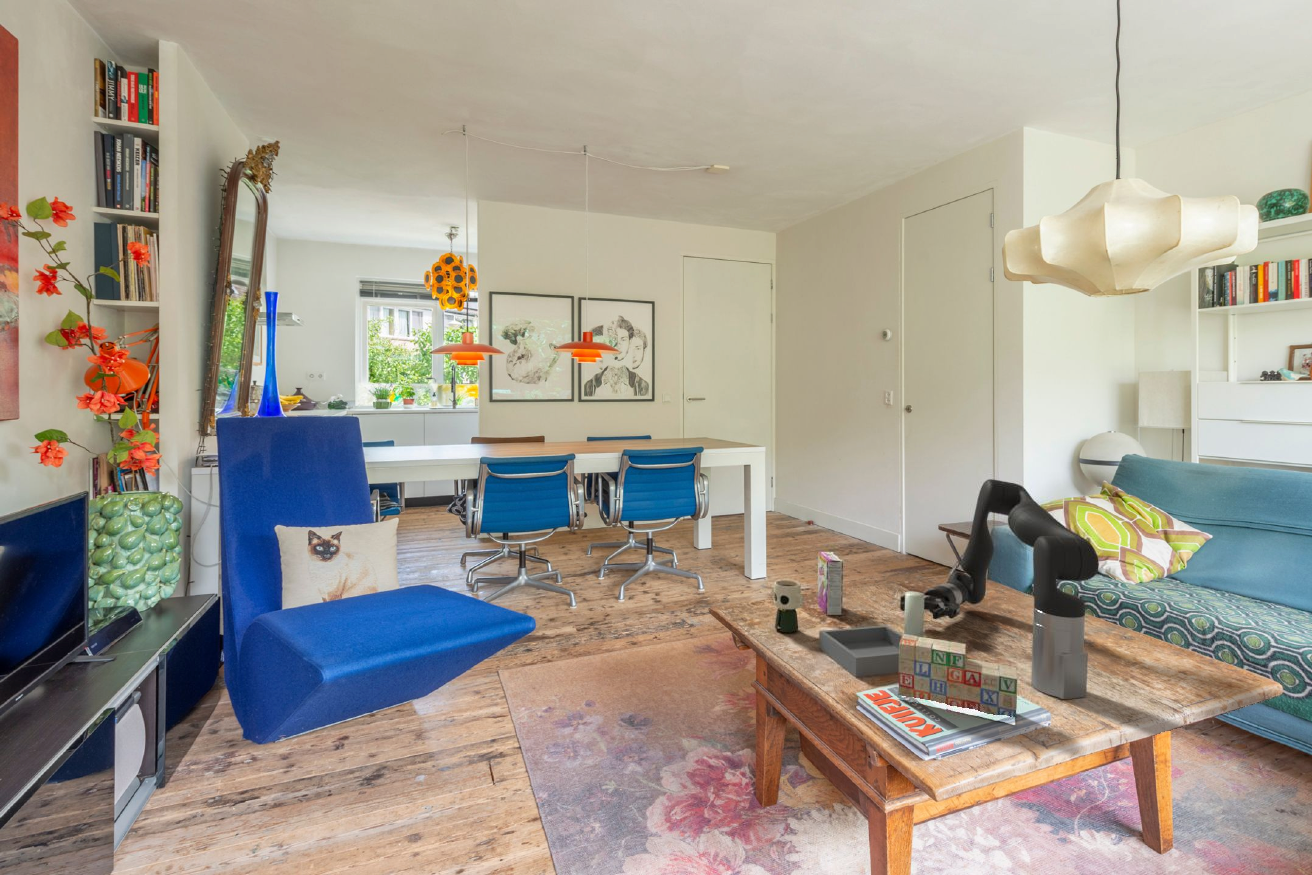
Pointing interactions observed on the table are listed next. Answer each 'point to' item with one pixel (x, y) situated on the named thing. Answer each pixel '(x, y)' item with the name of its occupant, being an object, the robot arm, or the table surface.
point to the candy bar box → (830, 583)
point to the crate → (863, 649)
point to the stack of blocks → (955, 677)
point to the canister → (914, 614)
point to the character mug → (787, 604)
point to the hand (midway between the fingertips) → (918, 611)
